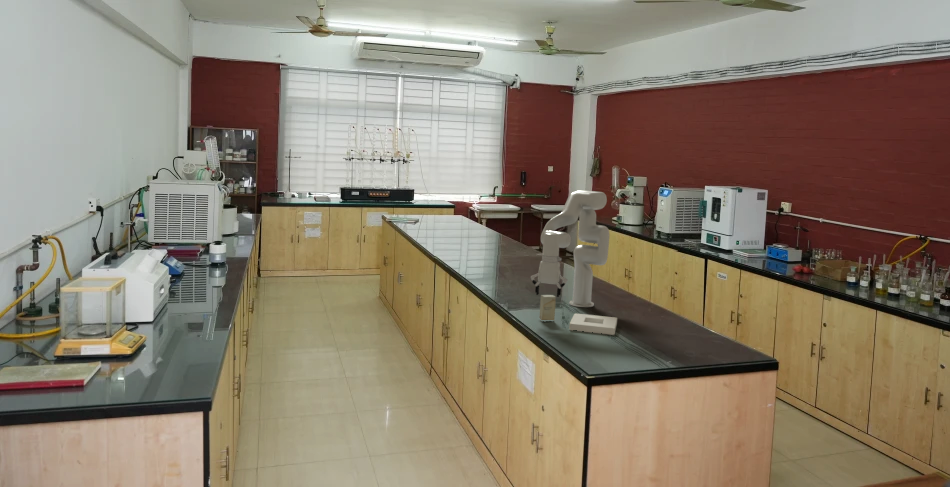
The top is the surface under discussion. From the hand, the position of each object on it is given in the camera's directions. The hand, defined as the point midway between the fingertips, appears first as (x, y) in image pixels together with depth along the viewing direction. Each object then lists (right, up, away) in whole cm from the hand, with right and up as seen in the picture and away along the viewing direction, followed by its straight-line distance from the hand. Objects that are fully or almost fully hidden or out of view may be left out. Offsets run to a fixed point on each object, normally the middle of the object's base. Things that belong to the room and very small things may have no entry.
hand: (547, 295), depth 319 cm
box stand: (+21, -14, -5) cm, 25 cm away
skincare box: (0, -12, +2) cm, 13 cm away
